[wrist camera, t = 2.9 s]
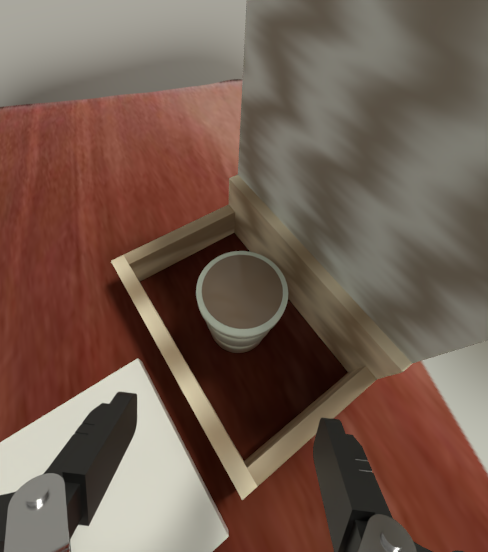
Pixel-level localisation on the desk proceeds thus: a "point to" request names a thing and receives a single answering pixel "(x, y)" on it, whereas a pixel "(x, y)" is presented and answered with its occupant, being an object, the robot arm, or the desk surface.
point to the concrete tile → (126, 474)
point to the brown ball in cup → (241, 299)
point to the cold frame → (351, 194)
